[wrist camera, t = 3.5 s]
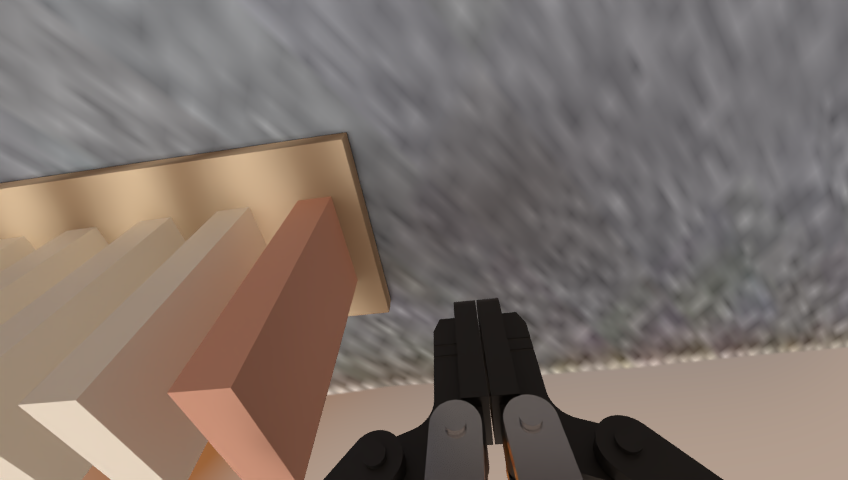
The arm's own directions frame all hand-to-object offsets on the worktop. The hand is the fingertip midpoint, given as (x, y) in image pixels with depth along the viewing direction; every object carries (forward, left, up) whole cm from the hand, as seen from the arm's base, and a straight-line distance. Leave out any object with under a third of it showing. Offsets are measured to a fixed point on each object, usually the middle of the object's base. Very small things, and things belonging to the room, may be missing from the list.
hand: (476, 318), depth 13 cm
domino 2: (+11, 0, -6) cm, 12 cm away
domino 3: (+15, 0, -6) cm, 16 cm away
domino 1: (+7, 0, -6) cm, 9 cm away
